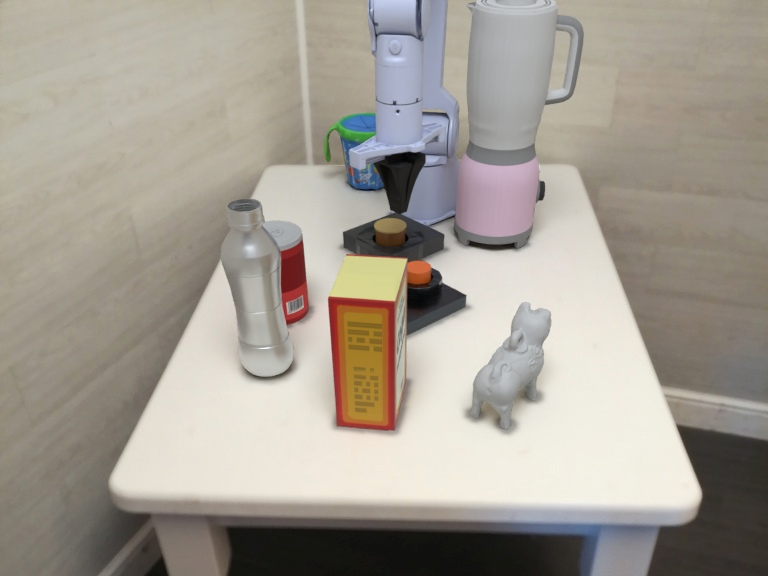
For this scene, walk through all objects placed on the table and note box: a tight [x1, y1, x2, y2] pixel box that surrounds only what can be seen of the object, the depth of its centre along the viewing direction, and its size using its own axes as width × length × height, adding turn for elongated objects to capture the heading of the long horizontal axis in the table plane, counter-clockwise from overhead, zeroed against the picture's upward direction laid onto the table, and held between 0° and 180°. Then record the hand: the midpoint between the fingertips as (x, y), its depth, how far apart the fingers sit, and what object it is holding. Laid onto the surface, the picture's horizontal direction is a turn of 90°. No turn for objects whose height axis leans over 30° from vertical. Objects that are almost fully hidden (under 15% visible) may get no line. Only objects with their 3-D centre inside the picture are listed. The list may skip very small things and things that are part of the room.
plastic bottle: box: [219, 197, 295, 378], centre depth 82 cm, size 6×7×20 cm
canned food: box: [263, 220, 310, 326], centre depth 94 cm, size 8×8×11 cm
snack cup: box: [323, 112, 384, 191], centre depth 126 cm, size 16×10×10 cm
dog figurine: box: [470, 301, 552, 430], centre depth 80 cm, size 5×13×11 cm, turn 148°
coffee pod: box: [374, 218, 406, 246], centre depth 109 cm, size 5×5×4 cm
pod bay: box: [342, 212, 445, 263], centre depth 110 cm, size 12×12×2 cm
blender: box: [453, 0, 585, 249], centre depth 103 cm, size 16×12×32 cm
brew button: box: [407, 260, 432, 284], centre depth 97 cm, size 4×4×2 cm
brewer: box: [407, 266, 467, 337], centre depth 98 cm, size 11×10×4 cm
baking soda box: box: [327, 253, 408, 432], centre depth 78 cm, size 10×6×16 cm
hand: (398, 210), depth 97 cm, fingers closed
